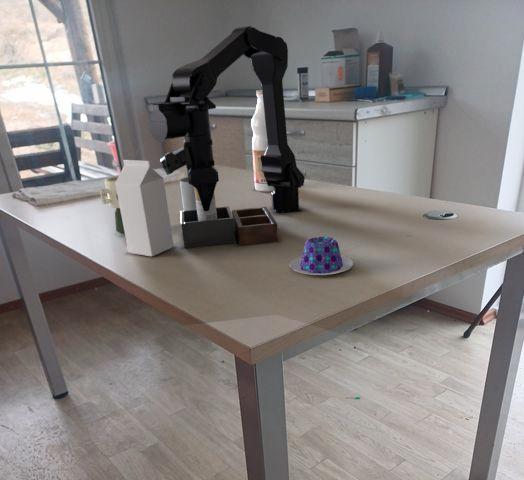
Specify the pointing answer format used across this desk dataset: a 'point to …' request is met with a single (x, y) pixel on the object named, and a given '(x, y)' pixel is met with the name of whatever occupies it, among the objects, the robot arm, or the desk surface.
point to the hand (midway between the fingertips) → (205, 208)
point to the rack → (255, 226)
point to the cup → (188, 195)
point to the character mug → (113, 201)
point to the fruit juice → (259, 144)
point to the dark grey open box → (207, 228)
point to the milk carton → (144, 209)
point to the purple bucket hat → (321, 258)
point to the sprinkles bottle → (205, 214)
